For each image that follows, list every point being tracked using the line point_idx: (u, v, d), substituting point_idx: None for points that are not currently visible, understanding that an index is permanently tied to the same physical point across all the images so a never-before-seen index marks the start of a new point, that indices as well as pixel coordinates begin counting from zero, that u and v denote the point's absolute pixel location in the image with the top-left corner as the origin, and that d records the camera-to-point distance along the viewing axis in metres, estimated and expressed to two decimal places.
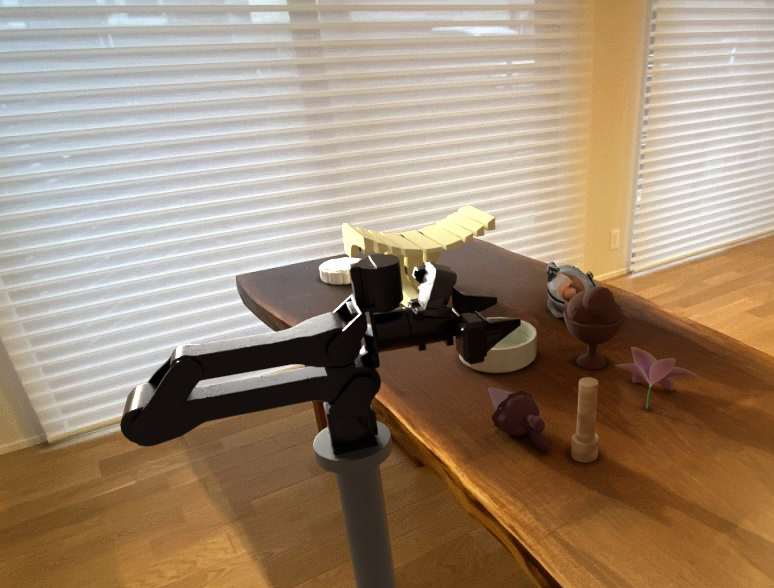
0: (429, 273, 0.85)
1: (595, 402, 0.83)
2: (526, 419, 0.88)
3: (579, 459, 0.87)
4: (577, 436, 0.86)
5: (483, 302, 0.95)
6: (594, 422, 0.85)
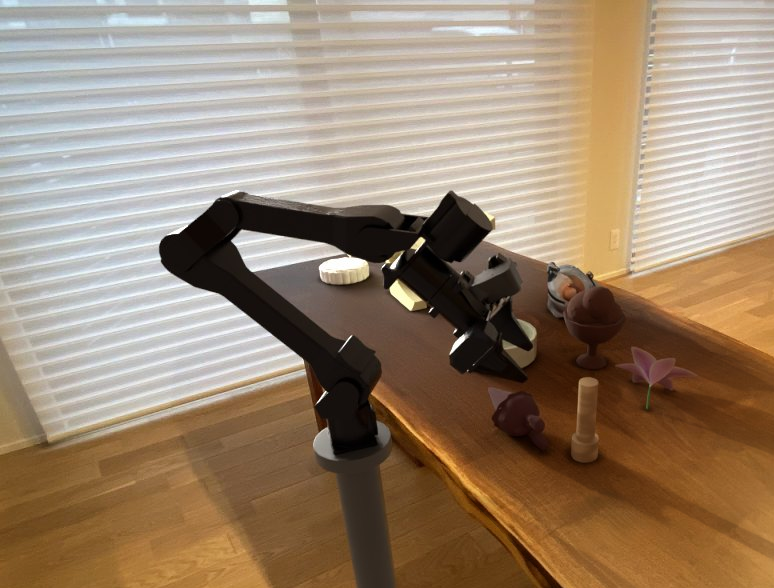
0: (502, 267, 0.77)
1: (595, 402, 0.83)
2: (526, 419, 0.88)
3: (579, 459, 0.87)
4: (577, 436, 0.86)
5: (519, 338, 0.86)
6: (594, 422, 0.85)
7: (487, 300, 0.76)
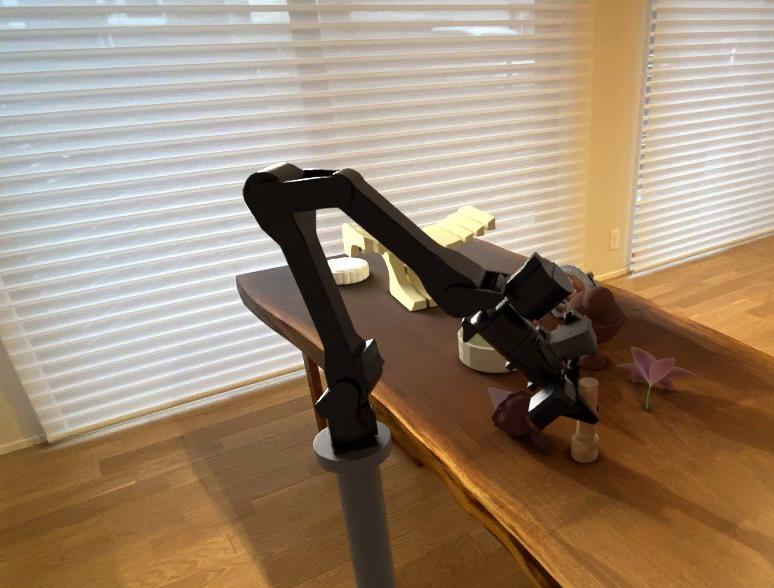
0: (579, 326, 0.79)
1: (595, 402, 0.83)
2: (526, 419, 0.88)
3: (579, 459, 0.87)
4: (577, 436, 0.86)
5: None
6: None
7: (564, 357, 0.78)
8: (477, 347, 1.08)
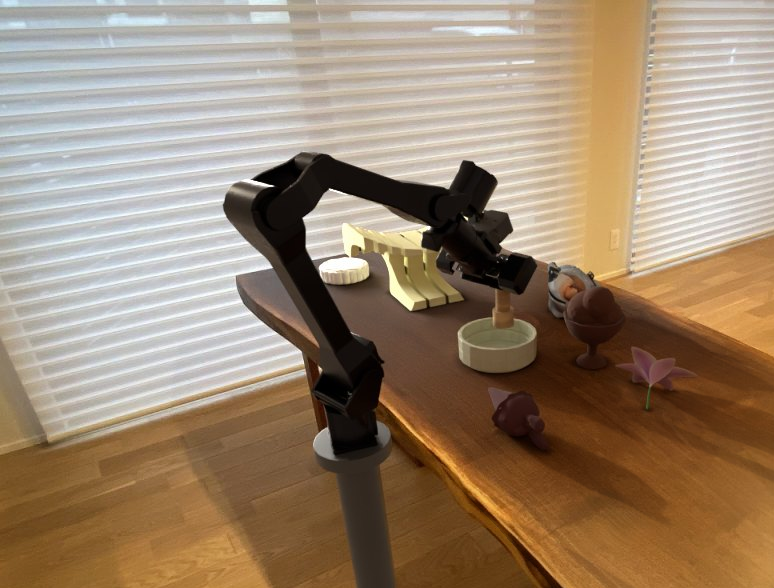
0: (494, 215, 1.01)
1: None
2: (526, 419, 0.88)
3: (508, 326, 1.10)
4: (501, 309, 1.09)
5: None
6: None
7: (499, 241, 1.00)
8: (477, 347, 1.08)
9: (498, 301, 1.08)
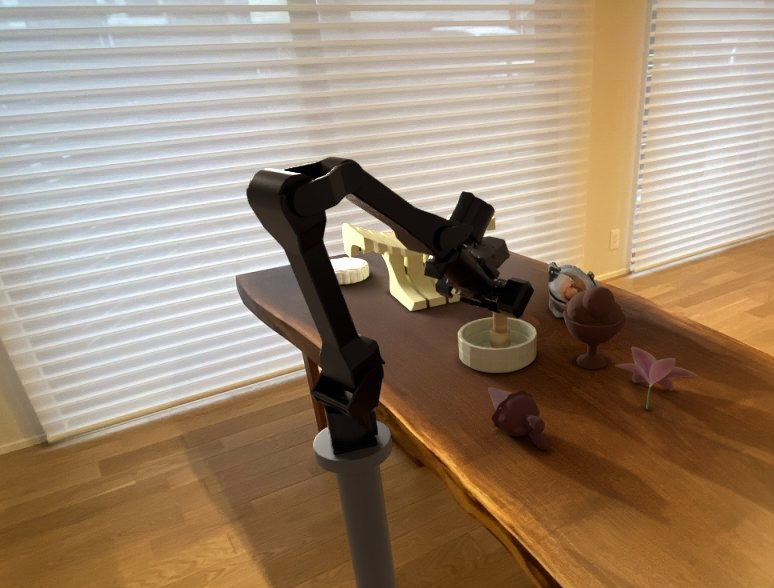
0: (491, 241, 1.05)
1: None
2: (526, 419, 0.88)
3: (505, 346, 1.14)
4: (498, 330, 1.13)
5: None
6: None
7: (496, 266, 1.04)
8: (477, 347, 1.08)
9: (495, 322, 1.13)
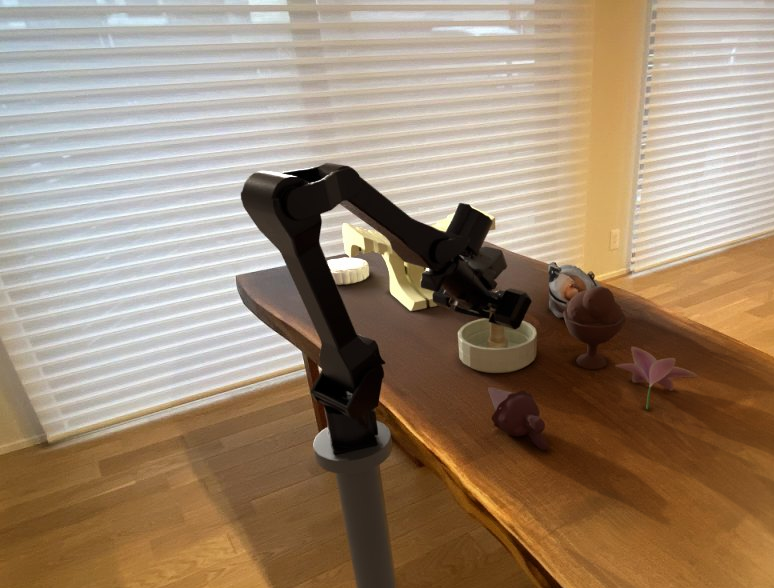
0: (488, 252, 1.05)
1: None
2: (526, 419, 0.88)
3: None
4: (496, 339, 1.12)
5: (487, 311, 1.12)
6: None
7: None
8: (477, 347, 1.08)
9: (492, 332, 1.12)
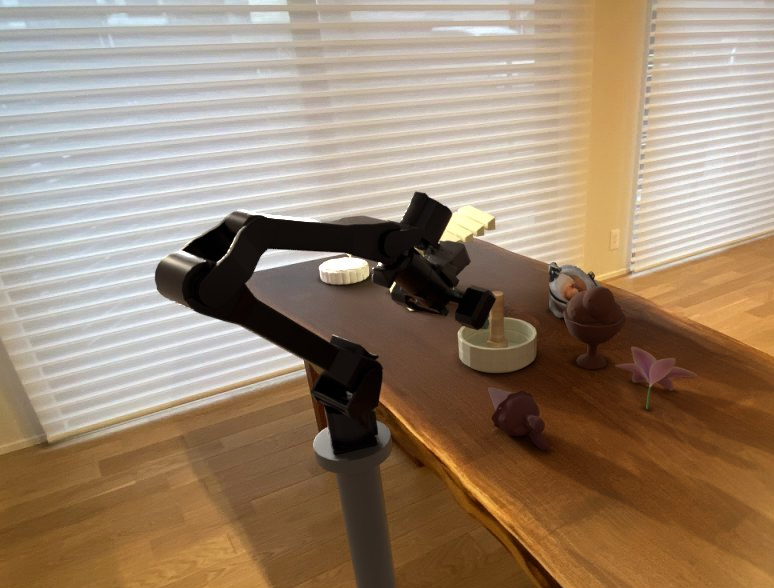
0: (450, 246, 0.97)
1: None
2: (526, 419, 0.88)
3: None
4: (496, 339, 1.12)
5: None
6: None
7: (455, 273, 0.96)
8: (477, 347, 1.08)
9: (493, 332, 1.12)
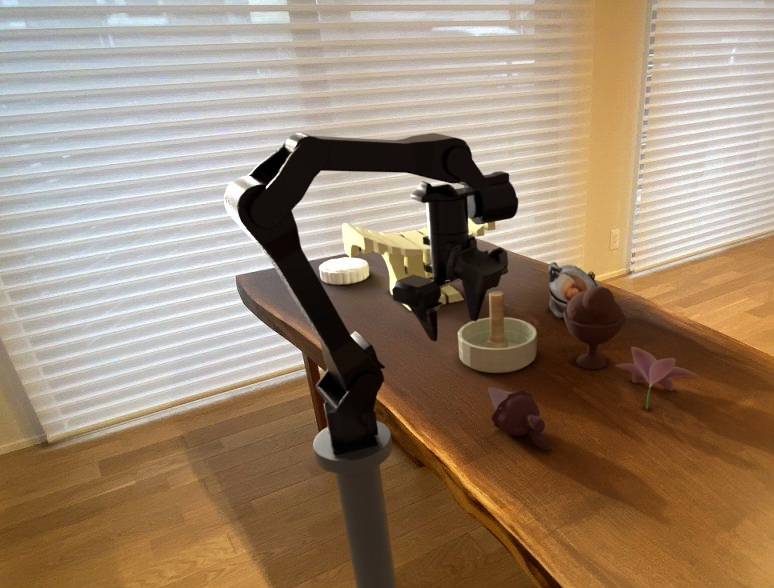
0: (490, 266, 0.85)
1: None
2: (526, 419, 0.88)
3: None
4: (496, 339, 1.12)
5: (473, 307, 0.97)
6: None
7: (459, 274, 0.86)
8: (477, 347, 1.08)
9: (493, 332, 1.12)
